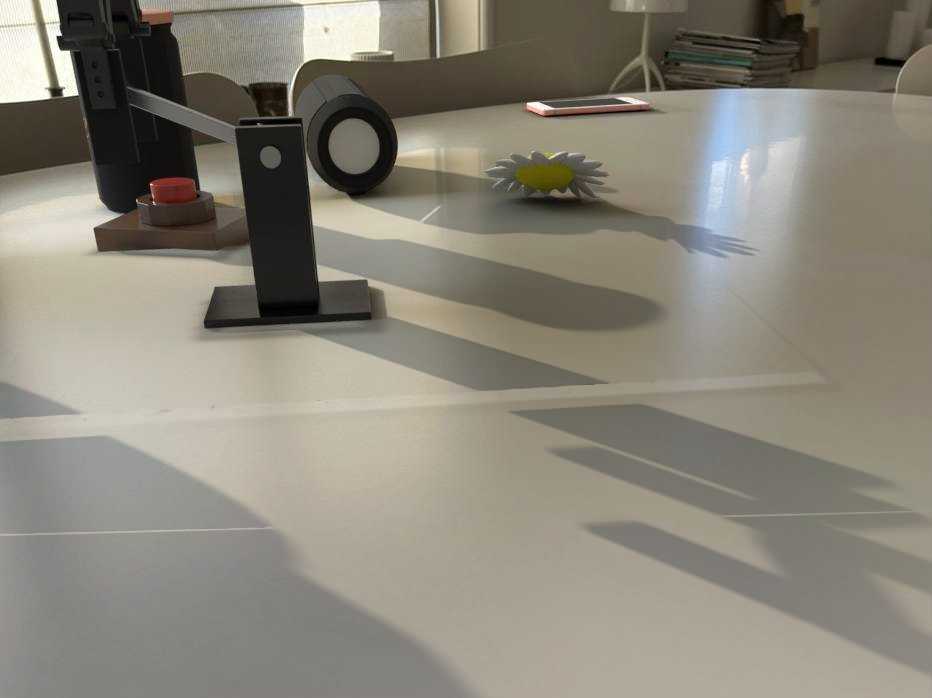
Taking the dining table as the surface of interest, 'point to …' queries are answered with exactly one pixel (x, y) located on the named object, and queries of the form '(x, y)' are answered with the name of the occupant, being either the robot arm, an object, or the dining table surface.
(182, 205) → the button box
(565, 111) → the cell phone
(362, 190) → the portable speaker
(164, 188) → the button
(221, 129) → the lever
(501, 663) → the dining table surface
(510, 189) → the decorative flower
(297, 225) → the bracket
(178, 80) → the coffee jar
